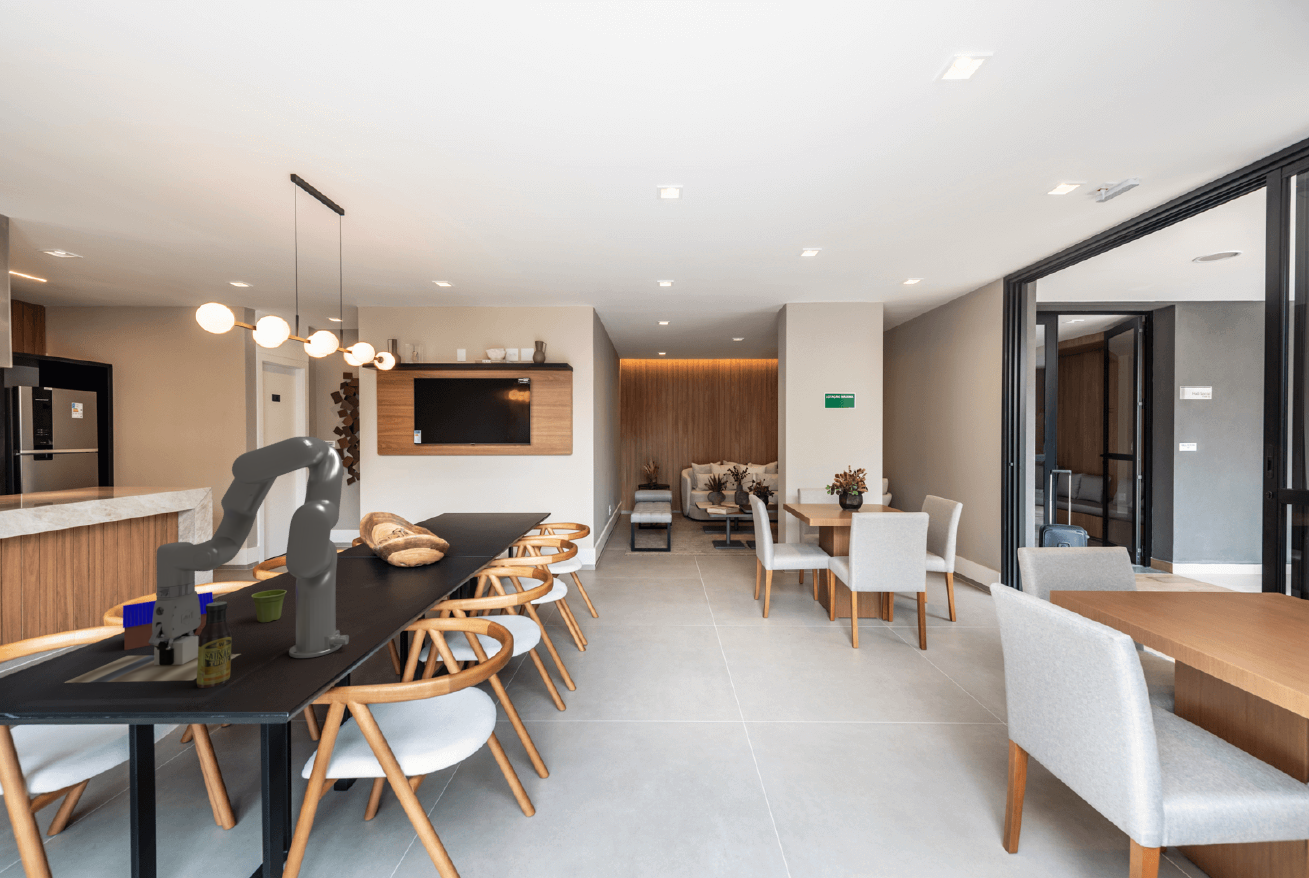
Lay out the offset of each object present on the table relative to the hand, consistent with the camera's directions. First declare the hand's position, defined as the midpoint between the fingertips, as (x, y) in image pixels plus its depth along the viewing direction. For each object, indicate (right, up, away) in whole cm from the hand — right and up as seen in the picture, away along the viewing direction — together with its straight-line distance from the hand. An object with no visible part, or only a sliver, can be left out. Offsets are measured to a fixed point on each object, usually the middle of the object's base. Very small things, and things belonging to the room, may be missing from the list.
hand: (176, 659), depth 140 cm
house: (-21, -2, +22) cm, 31 cm away
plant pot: (-2, -2, +37) cm, 37 cm away
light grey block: (0, 0, 0) cm, 0 cm away
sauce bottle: (+20, -2, -12) cm, 23 cm away
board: (-2, -2, -3) cm, 4 cm away
